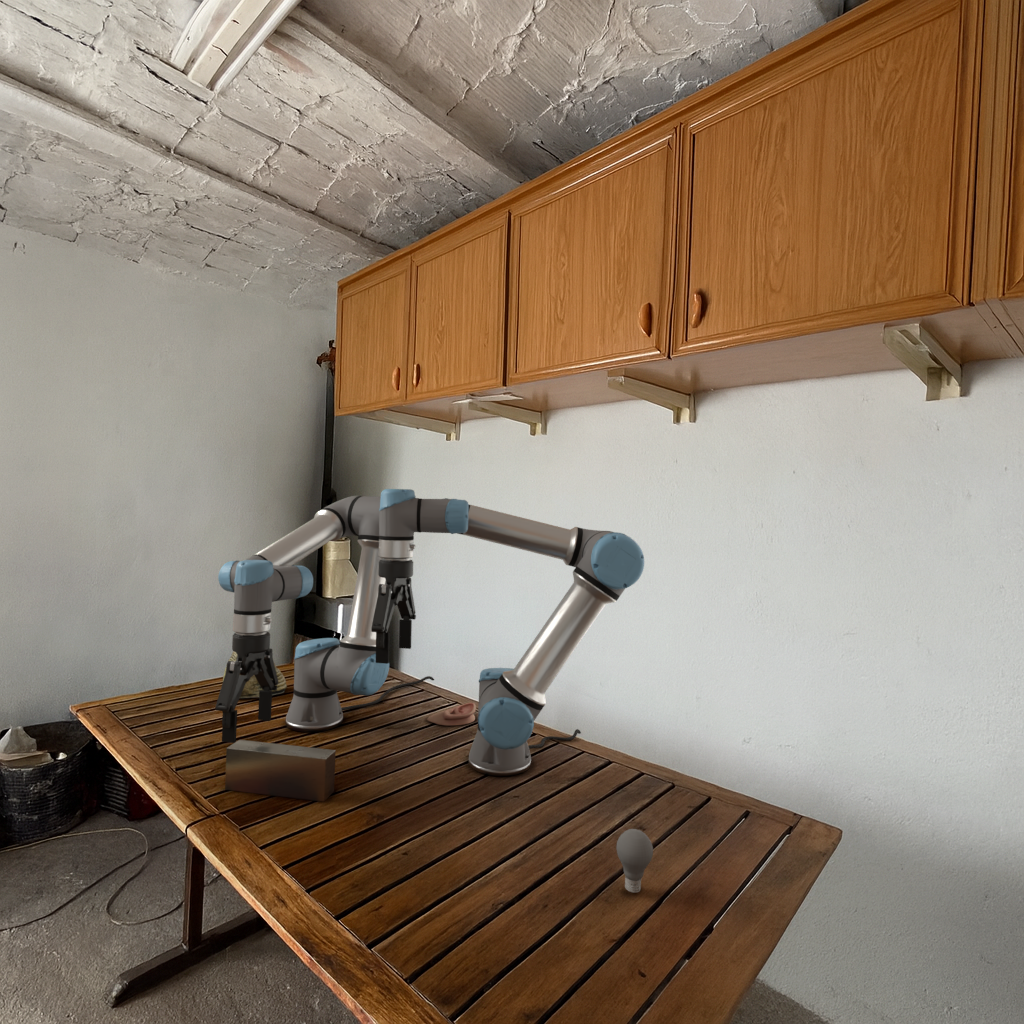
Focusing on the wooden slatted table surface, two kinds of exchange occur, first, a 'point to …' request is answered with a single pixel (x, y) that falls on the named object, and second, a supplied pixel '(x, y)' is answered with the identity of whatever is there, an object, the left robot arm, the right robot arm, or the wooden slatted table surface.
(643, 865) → the light bulb
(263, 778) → the bar
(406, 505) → the right robot arm
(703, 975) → the wooden slatted table surface
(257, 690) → the fossil
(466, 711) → the anatomical model
